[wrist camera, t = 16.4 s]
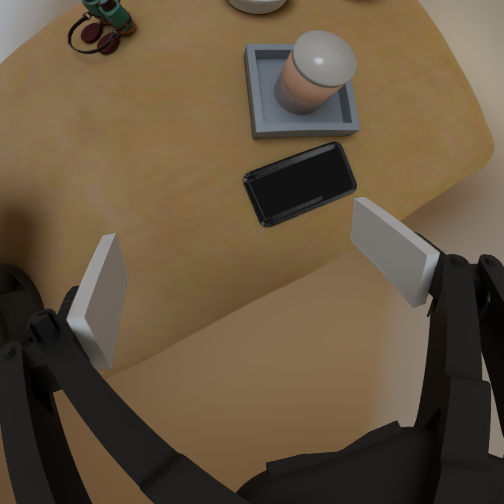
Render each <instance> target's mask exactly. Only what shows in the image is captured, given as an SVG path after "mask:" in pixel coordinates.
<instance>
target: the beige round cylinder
mask: <svg viewBox="0 0 504 504" xmlns="http://www.w3.org/2000/svg"><path fill="white" fill-rule="evenodd" d="M356 67H357V62H356V57H355V55H354V52H353V51H352V49H351V48H350V46H349V45H348V44H347V43H346V42H345V41H344V40H343V39H341V38H340V37H338V36H336V35H334V34H332V33H329V32H326V31H310V32H307V33H305V34H303V35H302V36H300V37H299V38H298V40H297V41H296V43H295V45H294V47H293V49H292V51H291V53H290V55H289V57H288V59H287V61H286V63H285V65H284V66H283V68H282V70H281V72H280V75H279V77H278V79H277V81H276V83H275V86H274V95H275V98H276V100H277V102H278V103H279V105H280V106H281V107H282V108H283V109H285V110H286V111H288V112H290V113H292V114H295V115H307V114H311V113H313V112H314V111H316V110H317V109H318V108H319V107H320V106H321V105H322V104H323V103H324V102H325V101H327V100H328V99H329V98H330V97H331V96H332V95H333V94H334V93H335V92H336V91H338V90H339V89H340V88H341V87H342V86H343V85H344V84H345V83H346V82H348V81H349V80H350V79H351V78H352V77H353V75H354V74H355V71H356Z"/></svg>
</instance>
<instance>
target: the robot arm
mask: <svg viewBox="0 0 504 504" xmlns="http://www.w3.org/2000/svg"><path fill="white" fill-rule="evenodd" d="M351 242H352V243H353V244H354V245H355V246H356V247H357V248H358V249H359V250H360V251H361V252H362V253H363V254H364V255H365V256H366V257H367V258H368V259H369V260H370V261H371V262H372V263H373V264H374V266H376V268H377V269H378V270H379V271H380V272H381V273H382V274H383V275H384V276H385V277H386V278H387V279H388V280H389V281H390V283H391V284H392V285H393V286H394V287H395V288H396V289H397V290H398V291H399V292H400V294H401V295H402V296H403V297H404V298H405V299H406V300H407V301H408V302H409V304H410V305H411V306H412V307H413V308H414V307H417V306H420V305H423V304H425V303H426V299H427V296H428V293H429V294H430V295H432V297H433V300H432V303H431V306H430V309H429V311H428V314H427V317H429V315H430V329H429V340H428V350H427V358H426V367H425V373H424V380H423V387H422V393H421V398H420V404H419V409H418V414H417V418H416V422H415V425H414V427H400V425H399V423H398V421H394V422H392V423H390V424H387V425H385V426H382V427H380V428H378V429H375V430H373V431H370V432H368V433H367V434H365V435H364V436H362V437H361V438H359V439H358V440H356V441H355V442H353V443H352V444H350V445H349V446H347V447H346V448H344V449H343V450H340V451H338V452H327V453H314V454H300V455H296V456H292V457H288V458H284V459H280V460H276V461H271V462H267V463H266V468H267V470H266V471H264V472H262V473H260V474H258V475H256V476H254V477H253V478H251V479H250V480H249V481H247V482H246V483H245V484H244V485H243V486H242V487H241V488H240V489H239V490H238V491H237V492H236V493H234V492H233V491H231V490H230V489H229V488H227V487H226V486H224V485H223V484H221V483H220V482H219V481H217V480H216V479H214V478H213V477H212V476H211V475H209V474H208V473H206V472H205V471H204V470H202V469H201V468H200V467H199V466H198V465H196V464H195V463H194V462H192V461H191V460H190V459H188V458H187V457H186V456H184V455H183V454H180V453H178V452H176V451H175V450H174V449H173V448H172V447H170V446H169V445H168V444H167V443H166V442H165V441H164V440H163V439H162V438H161V437H159V436H158V435H157V434H156V433H155V432H154V431H153V430H152V429H151V428H150V427H149V426H148V425H147V424H146V423H145V422H144V421H143V420H142V419H140V417H139V416H137V415H136V414H135V413H134V411H132V409H131V408H130V407H129V406H128V405H127V404H126V403H125V402H124V401H123V400H122V399H121V398H120V397H119V396H118V395H117V393H116V392H115V391H114V390H113V389H112V388H111V387H110V386H109V385H108V383H107V382H106V381H105V380H104V379H103V378H102V377H101V375H100V374H99V373H98V372H97V371H96V370H101V369H112V363H113V357H114V350H115V344H116V339H117V333H118V328H119V322H120V317H121V312H122V307H123V303H124V298H125V293H126V289H127V284H128V280H129V275H128V272H127V269H126V266H125V262H124V259H123V256H122V252H121V249H120V246H119V242H118V239H117V235H116V233H114V234H109V235H103V236H102V238H101V240H100V242H99V244H98V247H97V249H96V251H95V253H94V255H93V257H92V259H91V261H90V264H89V266H88V268H87V270H86V272H85V275H84V277H83V279H82V282H81V284H80V286H74V287H72V288H71V289H70V290H69V291H68V292H67V294H66V296H65V298H64V300H63V303H62V305H61V307H60V308H61V309H59V312H58V314H57V315H56V313H55V311H54V310H52V309H44V308H43V304H42V301H41V298H40V296H39V293H38V291H37V289H36V287H35V286H34V284H33V283H32V281H31V280H30V279H29V277H28V276H27V275H26V274H25V273H24V272H23V271H21V270H20V269H19V268H17V267H15V266H13V265H10V264H0V424H1V432H2V439H3V446H4V451H5V457H6V462H7V466H8V471H9V476H10V480H11V484H12V488H13V492H14V496H15V499H16V502H17V504H92V502H91V500H90V498H89V496H88V493H87V491H86V489H85V487H84V485H83V482H82V480H81V477H80V475H79V472H78V470H77V467H76V465H75V462H74V460H73V457H72V454H71V451H70V449H69V446H68V443H67V440H66V437H65V434H64V431H63V428H62V424H61V421H60V417H59V414H58V410H57V407H56V403H55V399H54V395H53V392H56V391H59V390H62V389H63V391H64V392H65V394H66V395H67V397H68V398H69V400H70V401H71V403H72V404H73V406H74V407H75V409H76V410H77V412H78V413H79V415H80V416H81V417H82V418H83V420H84V421H85V423H86V424H87V426H88V427H89V428H90V430H91V431H92V432H93V434H94V435H95V436H96V437H97V439H98V440H99V441H100V442H101V444H102V445H103V446H104V447H105V449H106V450H107V451H108V452H109V453H110V455H111V456H112V457H113V458H114V459H115V460H116V461H117V463H118V464H119V465H120V466H121V467H122V468H123V470H124V471H125V472H126V473H127V474H128V475H129V476H130V477H131V478H132V479H133V480H134V481H135V482H136V484H137V485H138V486H139V487H140V489H141V491H142V492H143V493H144V494H145V495H146V496H147V497H148V498H149V499H150V500H151V501H152V502H153V503H154V504H504V455H503V458H500V457H497V456H494V455H492V454H489V453H488V450H489V439H490V421H491V386H492V390H493V394H494V398H495V403H496V407H497V412H498V417H499V422H500V426H501V430H502V434H503V437H504V267H503V265H502V263H501V262H500V261H499V260H498V259H496V258H495V257H494V256H492V255H487V254H483V255H481V256H480V258H479V261H478V264H469V262H468V261H467V260H466V259H465V258H464V257H462V256H459V255H456V254H449V255H446V254H445V253H444V252H442V251H441V250H440V249H439V248H437V247H436V246H435V245H433V244H432V243H431V242H430V241H428V240H427V239H426V238H424V237H423V236H422V235H421V234H418V233H416V232H414V231H412V230H410V229H409V228H408V227H406V226H405V225H404V224H402V223H401V222H400V221H398V220H397V219H395V218H394V217H393V216H391V215H390V214H389V213H387V212H386V211H384V210H383V209H382V208H380V207H379V206H377V205H376V204H374V203H373V202H372V201H370V200H369V199H367V198H366V197H361V198H354V205H353V219H352V231H351ZM489 299H490V301H489ZM481 351H482V355H483V358H484V361H485V364H486V368H487V371H488V375H489V378H490V382H491V386H490V383H489V382H488V381H483V380H482V357H481ZM89 361H90V362H91V363H90V362H89ZM91 364H92V365H91Z"/></svg>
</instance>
